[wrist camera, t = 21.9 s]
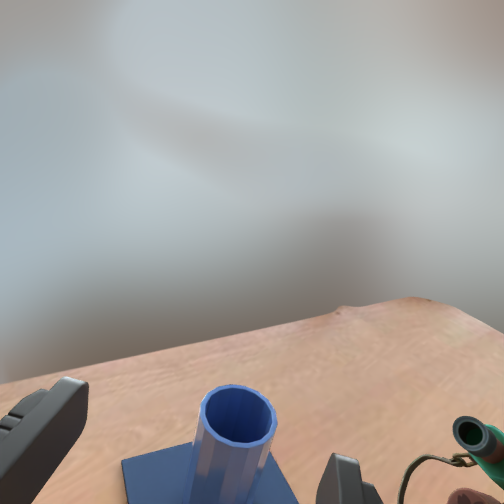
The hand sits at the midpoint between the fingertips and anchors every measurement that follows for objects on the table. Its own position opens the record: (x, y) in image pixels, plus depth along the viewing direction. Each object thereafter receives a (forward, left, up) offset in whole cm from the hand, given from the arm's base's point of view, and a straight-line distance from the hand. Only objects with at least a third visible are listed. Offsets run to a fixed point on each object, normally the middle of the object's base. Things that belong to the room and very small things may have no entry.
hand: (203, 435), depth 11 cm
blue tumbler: (+8, +10, -22) cm, 25 cm away
